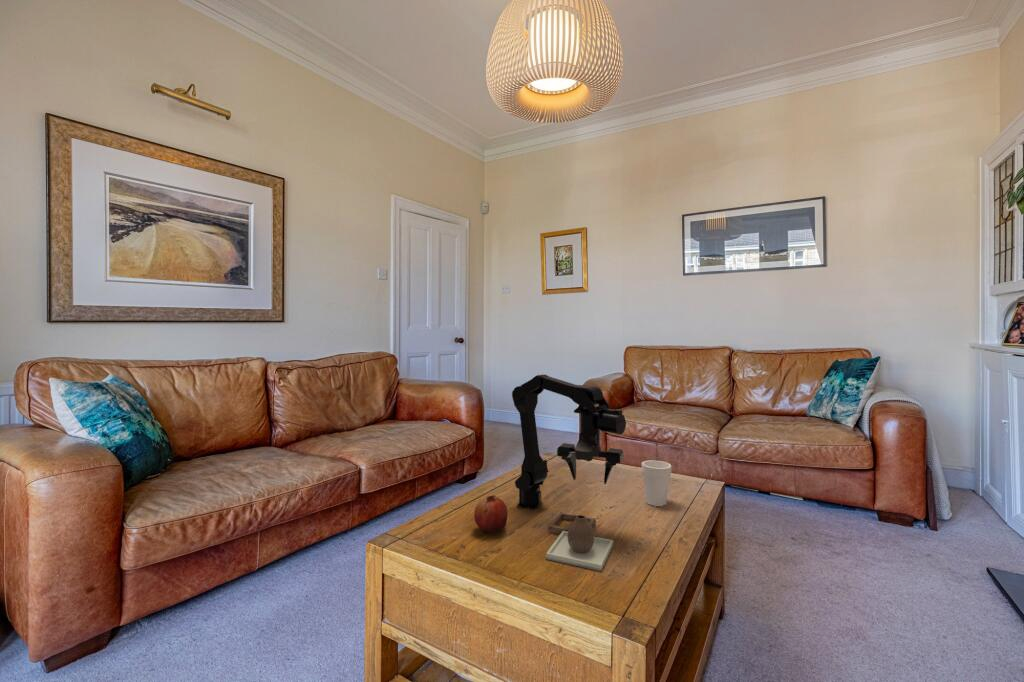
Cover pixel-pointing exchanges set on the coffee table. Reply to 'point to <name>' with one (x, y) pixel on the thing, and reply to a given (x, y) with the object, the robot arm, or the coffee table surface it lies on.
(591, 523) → the holder
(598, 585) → the coffee table surface
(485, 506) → the fruit
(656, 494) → the foam cup
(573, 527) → the vase
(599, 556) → the tray
